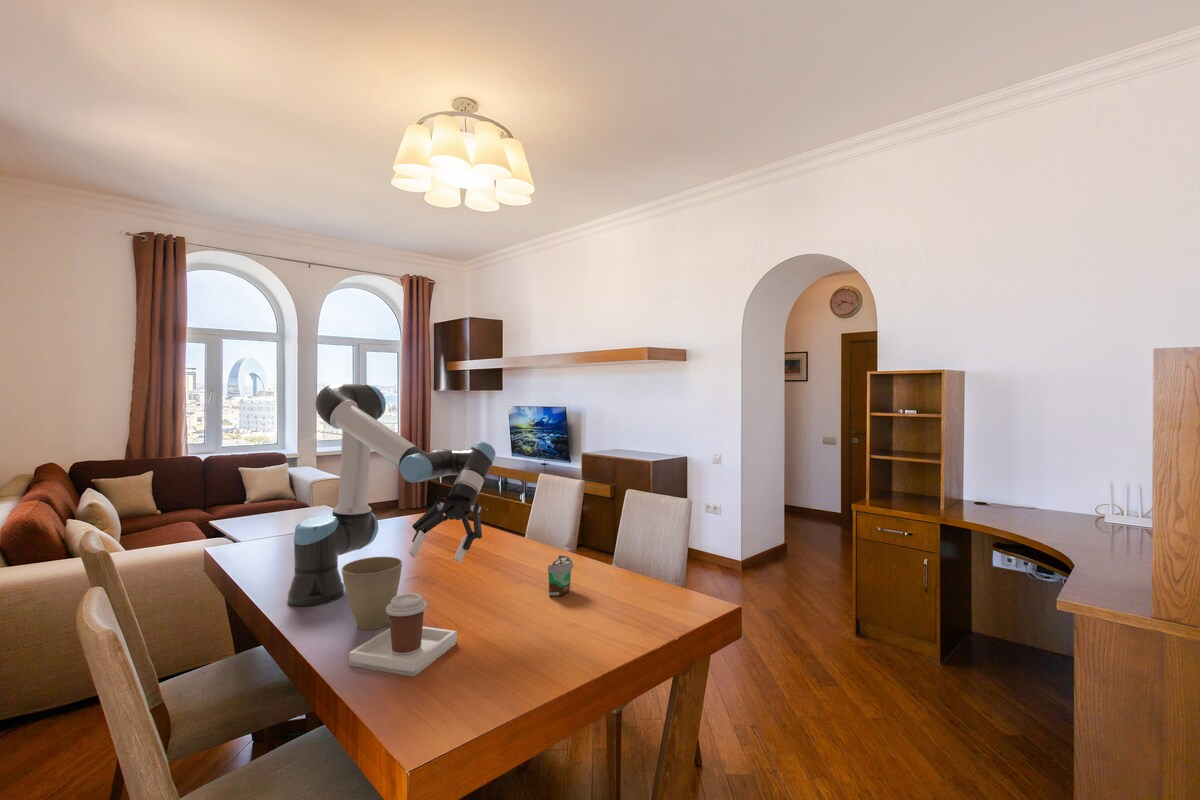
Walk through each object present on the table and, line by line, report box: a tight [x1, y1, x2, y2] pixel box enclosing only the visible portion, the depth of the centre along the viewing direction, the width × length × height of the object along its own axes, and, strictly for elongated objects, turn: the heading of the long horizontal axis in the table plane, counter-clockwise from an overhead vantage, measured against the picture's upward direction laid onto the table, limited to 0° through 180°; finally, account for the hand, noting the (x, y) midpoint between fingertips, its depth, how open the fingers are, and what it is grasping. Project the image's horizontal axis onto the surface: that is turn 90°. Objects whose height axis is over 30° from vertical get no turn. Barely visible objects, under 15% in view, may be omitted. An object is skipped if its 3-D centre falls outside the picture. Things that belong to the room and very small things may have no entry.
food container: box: [547, 554, 574, 598], centre depth 171 cm, size 12×6×10 cm, turn 168°
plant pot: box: [341, 556, 403, 631], centre depth 147 cm, size 15×15×16 cm
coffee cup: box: [386, 593, 428, 656], centre depth 130 cm, size 9×9×12 cm
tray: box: [348, 625, 458, 677], centre depth 130 cm, size 17×17×3 cm
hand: (434, 557), depth 143 cm, fingers open, 13 cm apart
